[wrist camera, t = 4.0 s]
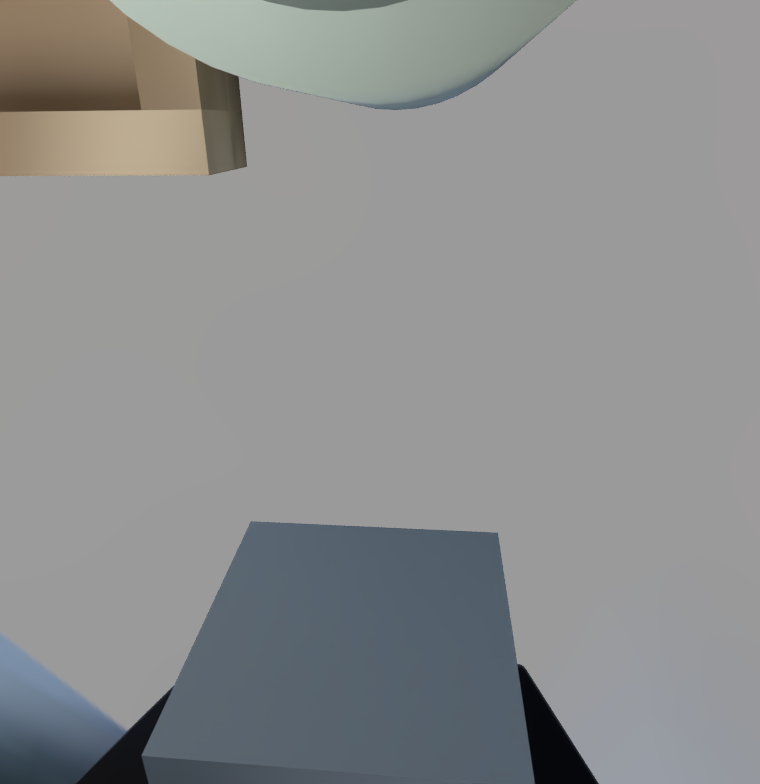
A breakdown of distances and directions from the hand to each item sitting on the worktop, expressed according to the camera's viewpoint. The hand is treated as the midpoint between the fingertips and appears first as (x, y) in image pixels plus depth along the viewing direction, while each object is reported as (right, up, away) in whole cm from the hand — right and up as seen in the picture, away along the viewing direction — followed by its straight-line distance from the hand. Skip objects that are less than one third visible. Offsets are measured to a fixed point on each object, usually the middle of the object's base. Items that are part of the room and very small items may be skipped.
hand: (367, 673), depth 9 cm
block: (0, 0, +1) cm, 1 cm away
